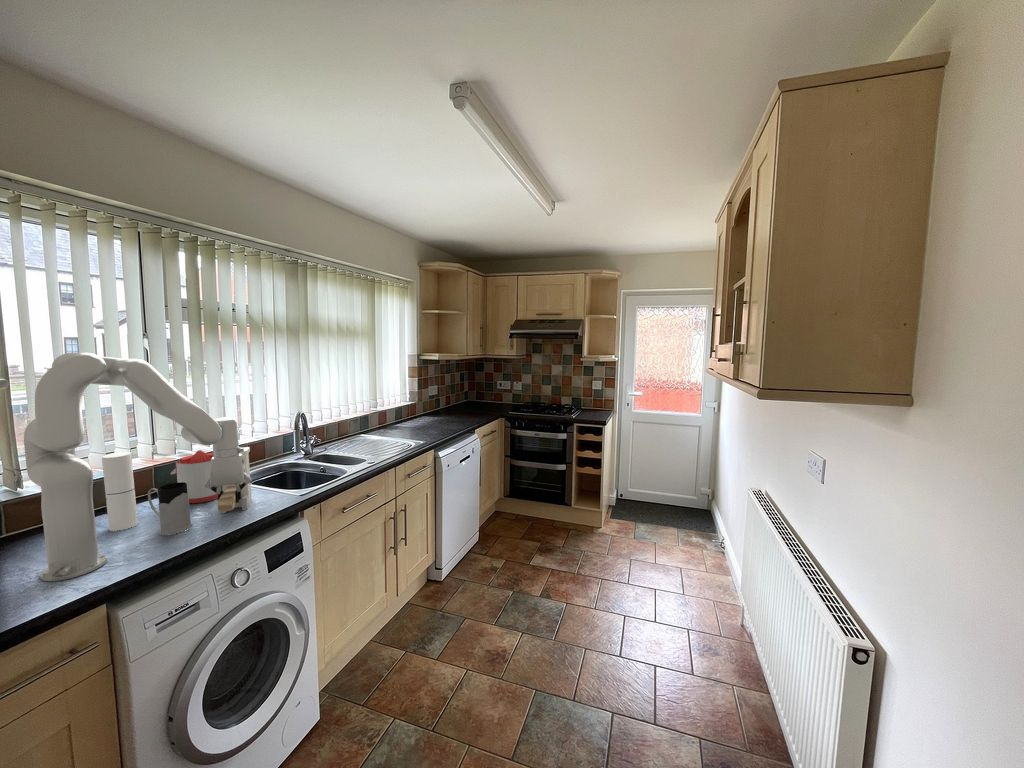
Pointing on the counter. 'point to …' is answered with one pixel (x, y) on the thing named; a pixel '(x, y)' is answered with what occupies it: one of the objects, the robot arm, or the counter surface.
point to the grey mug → (172, 508)
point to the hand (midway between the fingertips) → (230, 502)
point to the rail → (227, 500)
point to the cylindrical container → (119, 491)
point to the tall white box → (246, 490)
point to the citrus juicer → (196, 476)
